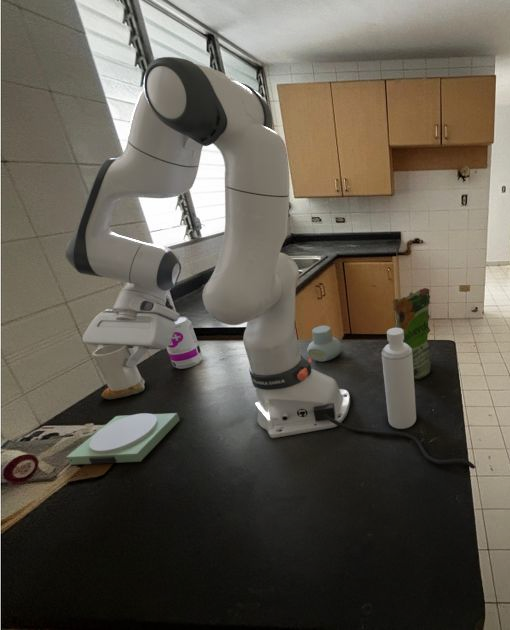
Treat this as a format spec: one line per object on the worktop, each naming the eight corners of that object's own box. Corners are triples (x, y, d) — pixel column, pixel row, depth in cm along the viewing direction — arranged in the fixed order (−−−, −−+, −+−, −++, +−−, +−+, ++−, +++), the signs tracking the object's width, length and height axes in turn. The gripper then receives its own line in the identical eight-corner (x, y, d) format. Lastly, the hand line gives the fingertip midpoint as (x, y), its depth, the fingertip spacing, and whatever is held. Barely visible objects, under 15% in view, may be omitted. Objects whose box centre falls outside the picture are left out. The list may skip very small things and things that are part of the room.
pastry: (103, 405, 90) (97, 393, 89) (104, 393, 95) (99, 382, 94) (146, 391, 95) (141, 379, 94) (145, 381, 100) (140, 370, 99)
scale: (180, 420, 83) (176, 410, 82) (139, 463, 71) (133, 452, 69) (119, 422, 83) (115, 413, 82) (68, 466, 71) (62, 455, 70)
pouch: (432, 359, 105) (429, 283, 95) (435, 381, 94) (432, 297, 84) (396, 361, 104) (390, 285, 95) (395, 383, 93) (388, 300, 84)
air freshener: (347, 352, 111) (343, 325, 107) (334, 365, 104) (329, 336, 100) (319, 348, 114) (314, 322, 110) (304, 361, 107) (298, 333, 103)
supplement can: (193, 369, 105) (177, 326, 100) (167, 370, 106) (150, 327, 100) (208, 356, 113) (195, 315, 107) (184, 357, 113) (170, 316, 107)
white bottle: (400, 406, 84) (392, 315, 74) (421, 416, 80) (416, 321, 71) (382, 422, 79) (371, 326, 69) (404, 433, 75) (396, 334, 66)
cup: (147, 375, 79) (133, 342, 76) (128, 390, 74) (111, 354, 71) (123, 376, 79) (108, 343, 76) (102, 391, 74) (84, 356, 71)
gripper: (88, 303, 78) (61, 360, 73) (163, 304, 75) (140, 365, 70) (115, 313, 84) (91, 367, 79) (186, 315, 81) (165, 371, 75)
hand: (114, 366), depth 74 cm, fingers closed on cup, 6 cm apart
